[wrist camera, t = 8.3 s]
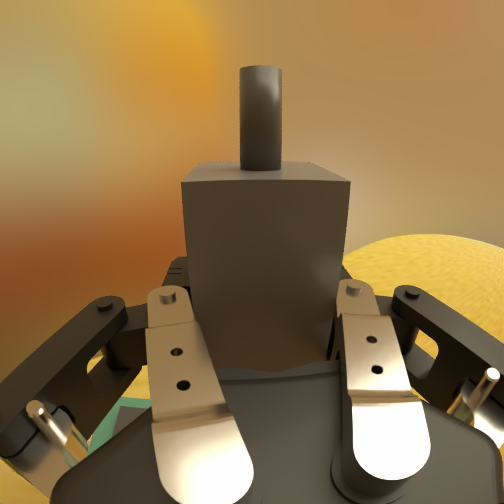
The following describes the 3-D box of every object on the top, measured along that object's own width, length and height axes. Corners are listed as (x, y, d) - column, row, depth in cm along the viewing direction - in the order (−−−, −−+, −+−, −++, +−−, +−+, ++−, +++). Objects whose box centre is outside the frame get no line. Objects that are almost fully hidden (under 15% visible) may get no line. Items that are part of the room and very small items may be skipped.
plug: (216, 444, 11) (178, 55, 5) (217, 373, 15) (200, 84, 9) (305, 438, 11) (353, 62, 5) (290, 370, 15) (306, 85, 10)
